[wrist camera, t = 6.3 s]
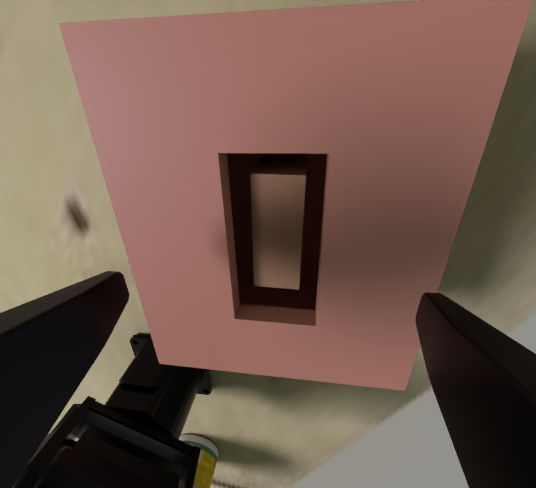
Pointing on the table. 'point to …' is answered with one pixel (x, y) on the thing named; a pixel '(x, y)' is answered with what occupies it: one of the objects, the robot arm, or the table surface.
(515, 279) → the table surface
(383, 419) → the table surface
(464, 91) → the coin box
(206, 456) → the supplement bottle
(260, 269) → the block
